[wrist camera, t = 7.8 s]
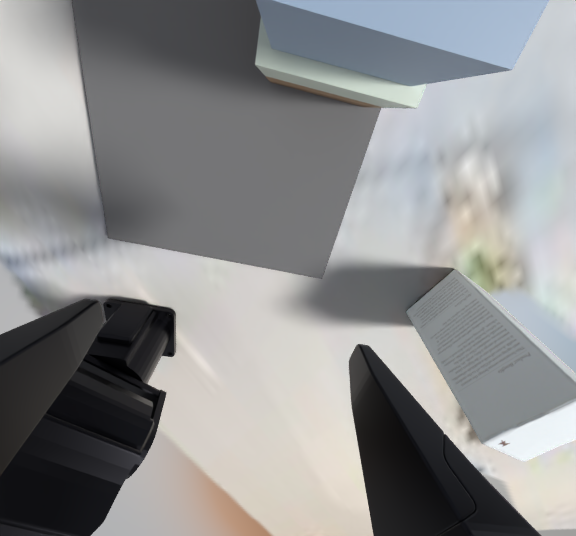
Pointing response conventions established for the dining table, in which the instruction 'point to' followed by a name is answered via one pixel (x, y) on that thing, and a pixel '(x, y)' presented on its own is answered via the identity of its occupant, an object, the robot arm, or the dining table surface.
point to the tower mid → (333, 78)
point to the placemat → (213, 136)
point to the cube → (404, 35)
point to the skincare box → (497, 369)
